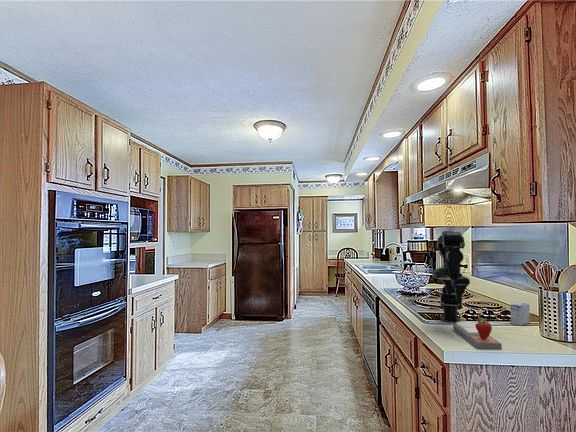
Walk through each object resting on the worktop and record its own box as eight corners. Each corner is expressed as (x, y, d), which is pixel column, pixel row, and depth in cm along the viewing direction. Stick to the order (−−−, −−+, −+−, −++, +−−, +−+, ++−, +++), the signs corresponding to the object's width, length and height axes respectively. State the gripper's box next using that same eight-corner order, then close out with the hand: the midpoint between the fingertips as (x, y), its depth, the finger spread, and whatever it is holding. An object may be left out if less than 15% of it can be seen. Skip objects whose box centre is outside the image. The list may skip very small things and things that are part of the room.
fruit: (481, 336, 135) (480, 314, 135) (495, 340, 130) (494, 318, 130) (472, 338, 132) (472, 316, 132) (487, 342, 127) (486, 320, 128)
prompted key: (471, 341, 134) (471, 336, 134) (488, 342, 134) (488, 336, 134) (479, 347, 128) (478, 342, 128) (497, 348, 127) (497, 342, 127)
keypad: (453, 329, 150) (452, 322, 150) (473, 330, 149) (473, 322, 149) (477, 349, 127) (476, 340, 127) (501, 349, 126) (501, 340, 126)
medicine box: (518, 320, 162) (518, 301, 162) (529, 323, 158) (529, 303, 158) (510, 323, 157) (509, 304, 158) (521, 326, 154) (520, 306, 154)
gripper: (426, 259, 161) (427, 293, 161) (441, 263, 143) (442, 302, 142) (451, 259, 161) (452, 294, 160) (470, 263, 142) (470, 303, 141)
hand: (453, 298), depth 151 cm, fingers open, 9 cm apart
